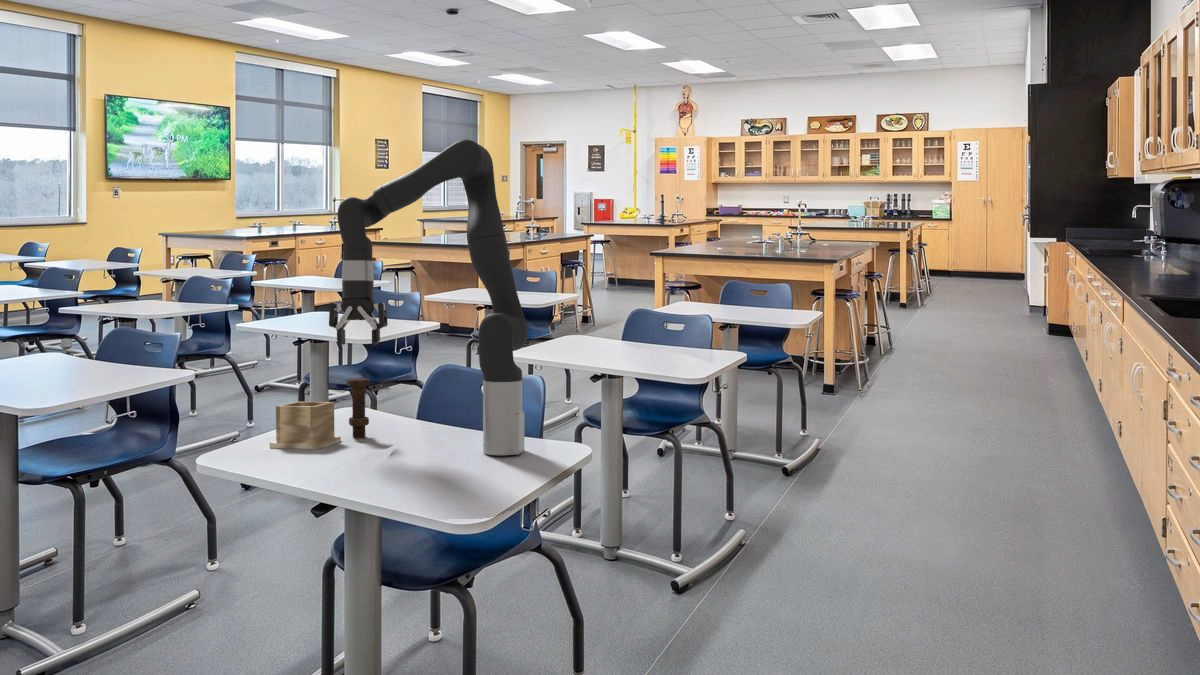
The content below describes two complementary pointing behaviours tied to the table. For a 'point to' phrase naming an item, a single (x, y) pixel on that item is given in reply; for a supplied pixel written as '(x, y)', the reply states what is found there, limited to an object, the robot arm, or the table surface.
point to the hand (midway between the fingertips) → (358, 344)
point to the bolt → (358, 406)
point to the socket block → (305, 425)
